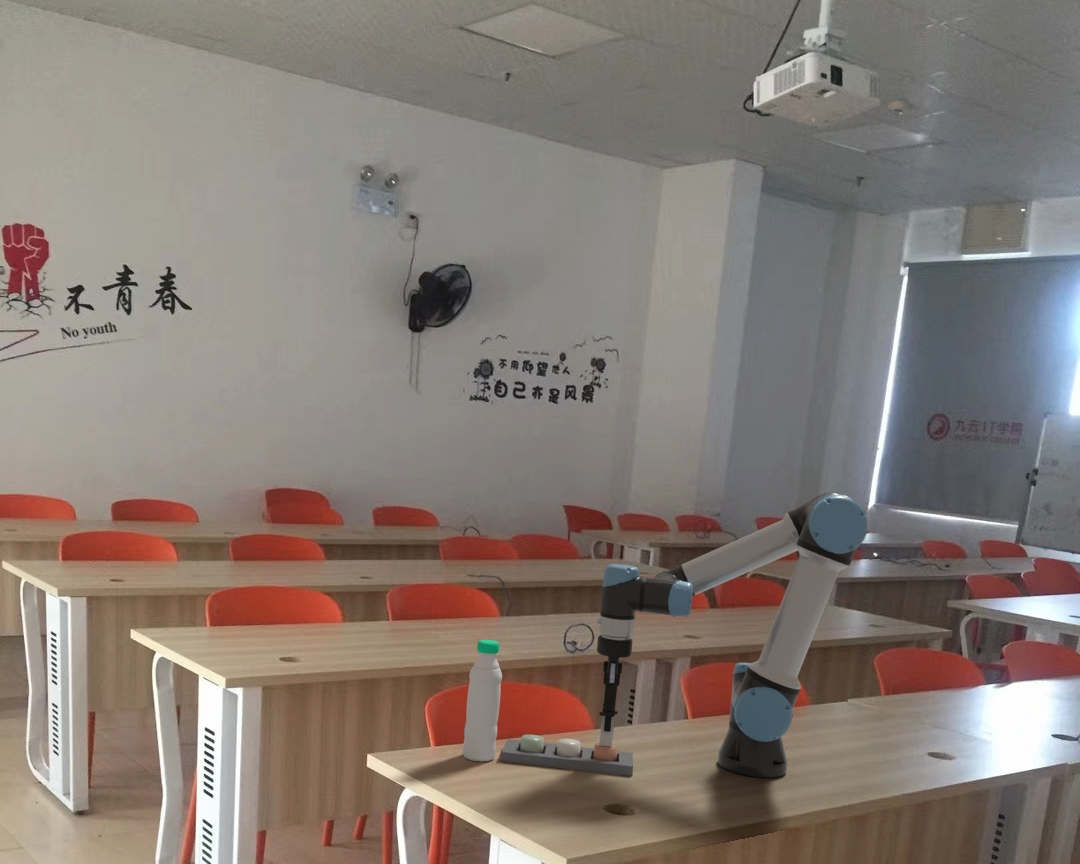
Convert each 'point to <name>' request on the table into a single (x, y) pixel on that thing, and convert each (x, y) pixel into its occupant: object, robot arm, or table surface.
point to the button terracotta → (605, 752)
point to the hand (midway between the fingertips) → (605, 744)
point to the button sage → (532, 743)
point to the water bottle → (483, 704)
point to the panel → (568, 759)
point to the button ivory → (568, 748)
